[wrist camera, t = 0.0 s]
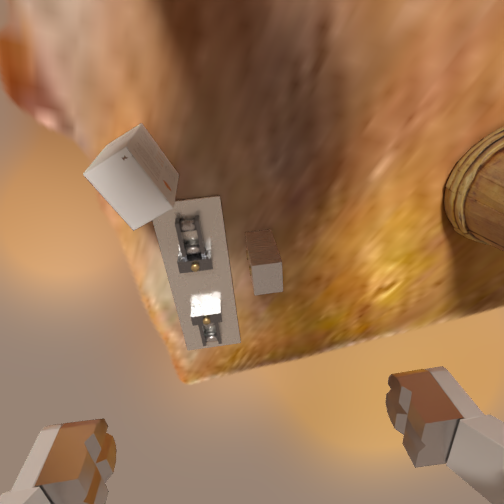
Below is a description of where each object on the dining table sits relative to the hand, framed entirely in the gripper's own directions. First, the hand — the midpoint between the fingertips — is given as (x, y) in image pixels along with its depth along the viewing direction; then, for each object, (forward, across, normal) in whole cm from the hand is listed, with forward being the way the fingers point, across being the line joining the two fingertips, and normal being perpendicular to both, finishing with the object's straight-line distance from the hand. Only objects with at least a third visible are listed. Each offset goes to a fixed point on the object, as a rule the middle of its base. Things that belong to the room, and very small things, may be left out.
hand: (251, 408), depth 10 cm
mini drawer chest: (+40, -4, +15) cm, 43 cm away
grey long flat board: (+41, +6, +21) cm, 46 cm away
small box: (+39, +10, 0) cm, 41 cm away
